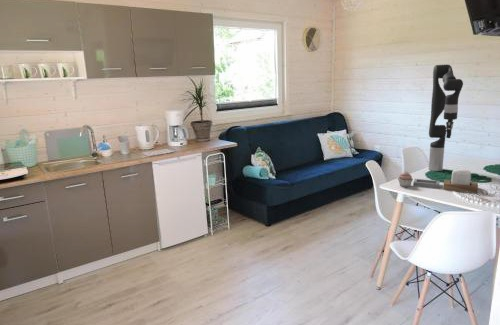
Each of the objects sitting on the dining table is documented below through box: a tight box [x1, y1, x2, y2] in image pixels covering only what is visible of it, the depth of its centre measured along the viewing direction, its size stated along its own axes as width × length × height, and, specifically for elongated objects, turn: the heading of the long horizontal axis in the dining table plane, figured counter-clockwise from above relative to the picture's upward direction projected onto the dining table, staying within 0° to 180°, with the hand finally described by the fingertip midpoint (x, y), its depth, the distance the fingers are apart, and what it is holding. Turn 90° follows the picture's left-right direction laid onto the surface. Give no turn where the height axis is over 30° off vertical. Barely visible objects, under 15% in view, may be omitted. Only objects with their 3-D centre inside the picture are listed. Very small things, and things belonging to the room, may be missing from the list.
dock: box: [442, 179, 479, 194], centre depth 222 cm, size 11×18×4 cm, turn 59°
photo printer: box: [450, 168, 472, 185], centre depth 221 cm, size 10×4×12 cm, turn 65°
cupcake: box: [397, 170, 414, 188], centre depth 232 cm, size 9×9×10 cm
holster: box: [412, 178, 441, 189], centre depth 232 cm, size 8×14×2 cm, turn 59°
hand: (448, 136), depth 230 cm, fingers open, 8 cm apart
